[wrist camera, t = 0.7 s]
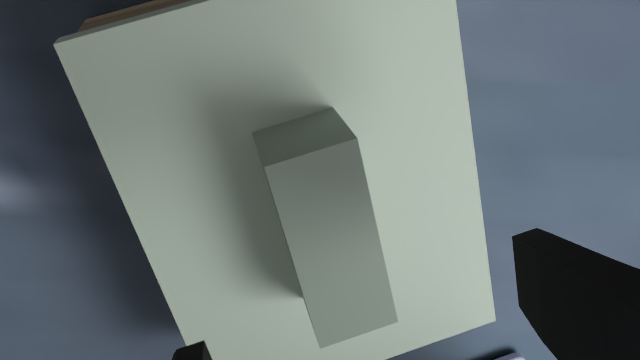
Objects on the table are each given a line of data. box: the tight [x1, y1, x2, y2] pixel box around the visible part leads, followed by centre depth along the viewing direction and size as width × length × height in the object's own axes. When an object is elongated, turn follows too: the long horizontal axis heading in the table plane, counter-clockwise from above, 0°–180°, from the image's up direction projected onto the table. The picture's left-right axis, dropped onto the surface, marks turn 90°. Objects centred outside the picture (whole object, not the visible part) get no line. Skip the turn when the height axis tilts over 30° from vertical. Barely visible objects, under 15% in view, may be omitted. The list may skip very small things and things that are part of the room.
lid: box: [53, 0, 496, 360], centre depth 18 cm, size 13×10×4 cm
